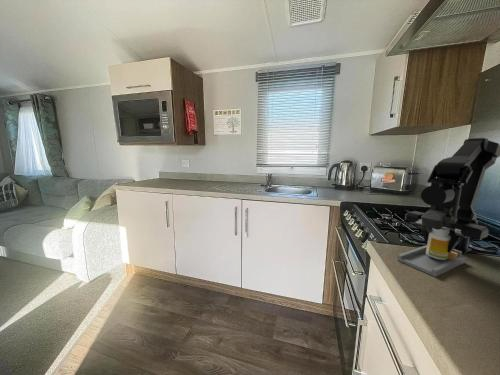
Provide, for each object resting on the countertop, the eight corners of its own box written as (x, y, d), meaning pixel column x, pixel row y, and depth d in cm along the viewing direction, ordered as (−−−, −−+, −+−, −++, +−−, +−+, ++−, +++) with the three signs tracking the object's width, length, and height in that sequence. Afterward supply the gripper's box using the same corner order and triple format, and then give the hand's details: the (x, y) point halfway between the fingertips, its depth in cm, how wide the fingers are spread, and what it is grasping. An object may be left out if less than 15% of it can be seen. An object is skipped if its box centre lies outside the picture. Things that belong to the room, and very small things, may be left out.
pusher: (428, 250, 72) (429, 243, 71) (456, 260, 65) (457, 253, 65) (426, 251, 71) (428, 244, 71) (454, 261, 65) (456, 253, 64)
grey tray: (426, 249, 74) (428, 240, 73) (464, 262, 65) (466, 253, 65) (397, 260, 66) (398, 250, 66) (435, 276, 57) (437, 265, 57)
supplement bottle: (452, 261, 64) (458, 231, 62) (432, 259, 65) (437, 230, 63) (440, 253, 69) (445, 225, 67) (421, 251, 70) (426, 224, 68)
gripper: (398, 198, 69) (392, 241, 71) (477, 212, 52) (465, 268, 55) (416, 195, 74) (410, 236, 76) (494, 208, 57) (483, 259, 60)
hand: (437, 248), depth 67 cm, fingers closed on supplement bottle, 5 cm apart
